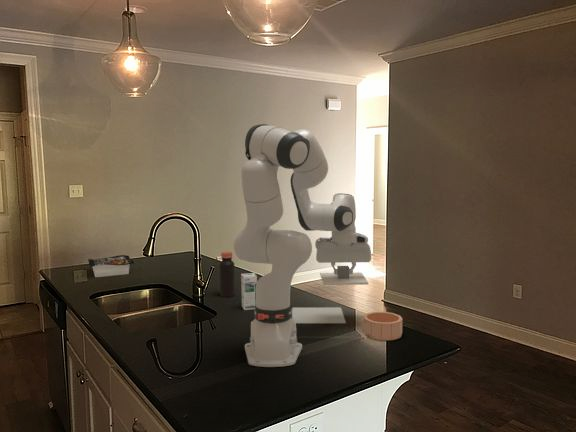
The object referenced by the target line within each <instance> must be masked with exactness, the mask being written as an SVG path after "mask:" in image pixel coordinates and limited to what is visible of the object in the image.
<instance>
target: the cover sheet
mask: <svg viewBox="0 0 576 432" xmlns="http://www.w3.org/2000/svg"><path fill="white" fill-rule="evenodd" d="M336 269H338V274H334V272H320V273H319V275H320V278H321V282H322V284H323V286H338V285H339V286H341V285H342V286H344V285H345V286H348V285H349V286H350V285H353V286H355V285H356V286H357V285H358V286H359V285H362V286H363V285H364V286H365V285H366V286H367V285H369V281H368V280H367V278H366V277H365V275H364V274H363V273H362V272H353V274H349V269H350V267H349V265H337V267H336Z"/></svg>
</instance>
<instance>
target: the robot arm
mask: <svg viewBox="0 0 576 432" xmlns="http://www.w3.org/2000/svg"><path fill="white" fill-rule="evenodd" d="M244 147H245V157H246V159H248V160H247V161H246V162H245V163H244V164H243V166H242V168H241V186H242V195H243V198H244V204H245V209H246V217H247V218H246V224H245V226H244V228H243V229H242V230H241V231H239V232H238V233H237V234H236V235H235V238H234V241H233V249H234V254H235V255H236V257H237V258H238V260H241V261H245V262H248V263H253V264H266V265H267V264H269V265H271V266H272V268H271V272H269V273H266V274H264V275H263V276H261V277H260V278H259V279H257V283H256V305H255V309H253V310H254V312H253V313H254V319H253V320H252V321H251V322H250V337H249V339H248V340H249V342H247V343H245V344H244V351H245V355H246V359H247V363H248V365H250V366H255V367H264V368H277V367H279V368H282V367H287V366H289V367H290V366H292V365H295V364H296V362H297V360H298V357H299V356H300V354H301V351H302V349H303V344H302V343H301V342H298V336H297V333H298V329H297V323H296V322H295V321H294V320H293V319H292V304H291V286H292V280H293V277H294V275H295V273H296V272H297V271H298V269H300V267H301V266H303V265H304V264H305V263H307V261H309V259H310V257H311V256H312V252H313V245H312V241H311V239H310V237H309V235H307V234H306V233H304V232H300V231H296V230H288V229H285V230H284V229H273V228H271V227H272V226H274V225H275V224H276V223H278V222H279V221H280V220H281V219H282V217H283V215H284V206H283V200H282V195H281V190H280V184H279V180H278V169H279V167H281V168H284V169H287V170H289V169H290V170H292V171H293V172H292V173H291V176H290V181H289V182H290V188H291V193H292V195H293V199H294V203H295V207H296V210H297V220H298V223H299V225H300V227H301V228H302V229H303V230H304V231H306V232H307V231H310V232H311V231H320V232H322V231H323V232H331V237H319V238H317V239H316V240H315V246H314V247H315V249H316V257H315V259H316V262H317V263H320V264H322V263H324V264H325V263H327V264H329V263H330V266H331V267H332V269H333V273H334V274H338V269H337V268H336V267H335V266H336V263H337V264H338V263H351V267H350V268H349V274H353V273H354V269H355V268H356V266H357V263H370V262H371V261H372V251H371V250H372V249H371V246H370V245H369V243H368V242H369V238H368V236H367V235H365V234H362V233H360V232H357V231H356V230H357V229H356V225H355V222H356V218H357V217H356V215H357V214H356V209H357V208H356V201H355V197H354V196H353V195H352V194H349V193H343V192H342V193H334V194H333V196H332V202H330V203H316V202H313V201H312V200H311V198H310V193H309V190H310V189H312V188H316V186H317V187H318V186H319V185H320V184H321V183H322V182H323V181H324V180H325V179H326V178H327V175H328V173H329V164H328V160H327V158H326V156H325V153H324V151H323V148H322V146H321V145H320V142H319V141H318V139H317V138H316V137H315V135H314V134H313V133H312V132H311V131H310V130H308V129H306V128H299V129H296V130H294V131H291V130H288V129H285V128H283V127H280V126H276V125H269V124H267V123H266V124H265V123H263V124H262V123H261V124H256V125H253V126H252V127H250V128H249V129H248V131H247V133H246V136H245V139H244Z"/></svg>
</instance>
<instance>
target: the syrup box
mask: <svg viewBox="0 0 576 432" xmlns="http://www.w3.org/2000/svg"><path fill="white" fill-rule="evenodd" d="M240 279H241V280H240V282H241V283H240V284H241V307H242V309H243V310H244V311H250V310H251V311H253V310H255V305H256V283H257V281H258V275H257V274H256V273H255V272H252V273H251V272H250V273H241V274H240Z"/></svg>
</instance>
